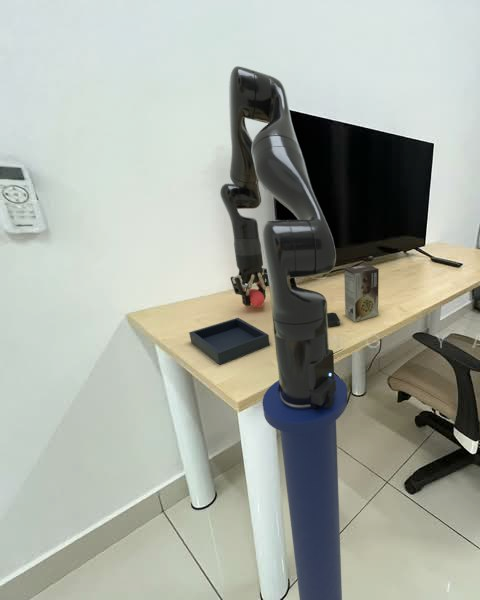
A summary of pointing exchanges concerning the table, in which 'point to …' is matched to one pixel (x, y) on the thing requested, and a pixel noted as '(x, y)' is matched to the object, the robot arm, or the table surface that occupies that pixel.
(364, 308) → the coffee box
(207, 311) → the table surface
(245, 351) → the tray
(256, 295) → the stress ball
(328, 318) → the phone
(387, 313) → the table surface
